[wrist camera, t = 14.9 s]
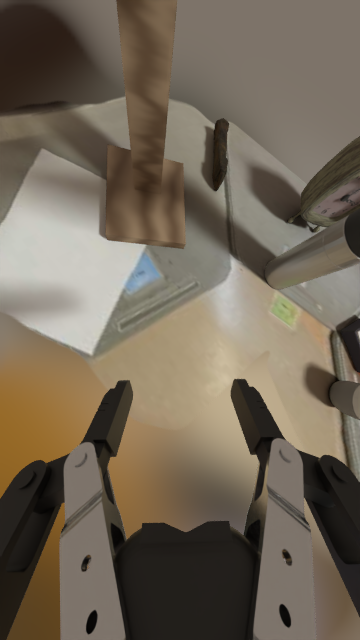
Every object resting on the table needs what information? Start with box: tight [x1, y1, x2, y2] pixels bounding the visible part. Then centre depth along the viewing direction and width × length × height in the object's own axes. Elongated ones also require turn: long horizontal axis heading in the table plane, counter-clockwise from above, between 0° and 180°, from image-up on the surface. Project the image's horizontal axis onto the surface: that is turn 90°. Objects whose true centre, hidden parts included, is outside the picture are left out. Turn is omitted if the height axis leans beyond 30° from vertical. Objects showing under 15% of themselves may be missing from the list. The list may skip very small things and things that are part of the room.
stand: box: [105, 0, 186, 249], centre depth 19 cm, size 18×22×32 cm
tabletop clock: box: [288, 136, 360, 232], centre depth 34 cm, size 14×9×25 cm, turn 83°
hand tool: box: [213, 118, 229, 191], centre depth 39 cm, size 19×4×5 cm, turn 174°
